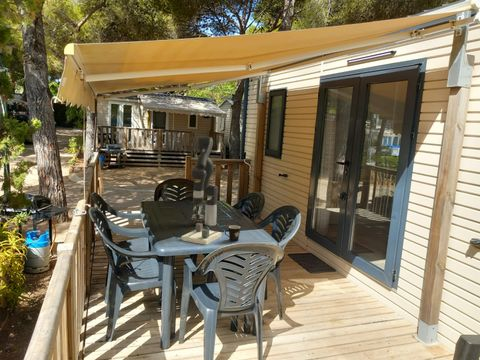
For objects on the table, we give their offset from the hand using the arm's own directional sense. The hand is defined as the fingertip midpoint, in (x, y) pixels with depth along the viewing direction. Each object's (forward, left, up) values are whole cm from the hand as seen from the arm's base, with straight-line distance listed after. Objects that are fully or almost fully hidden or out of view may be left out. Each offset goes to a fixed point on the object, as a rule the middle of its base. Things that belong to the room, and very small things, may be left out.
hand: (197, 219), depth 282 cm
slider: (+9, +12, -9) cm, 18 cm away
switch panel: (+3, +6, -13) cm, 14 cm away
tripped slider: (-3, 0, -9) cm, 10 cm away
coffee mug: (-4, +27, -13) cm, 30 cm away
